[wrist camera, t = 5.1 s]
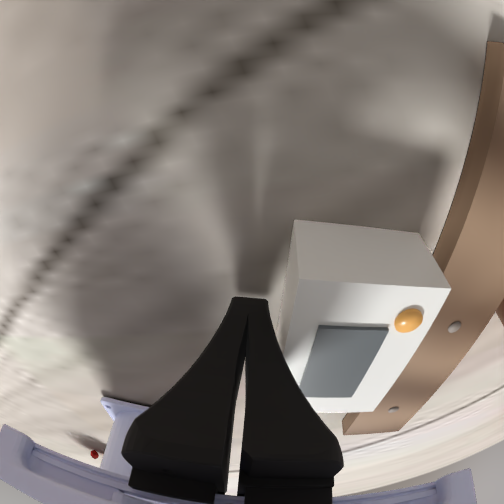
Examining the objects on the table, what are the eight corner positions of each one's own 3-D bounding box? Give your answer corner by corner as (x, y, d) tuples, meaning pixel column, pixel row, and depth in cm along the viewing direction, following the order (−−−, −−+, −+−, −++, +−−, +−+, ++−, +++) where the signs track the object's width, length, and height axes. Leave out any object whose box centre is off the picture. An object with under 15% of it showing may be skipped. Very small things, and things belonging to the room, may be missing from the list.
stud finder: (363, 356, 16) (373, 414, 13) (272, 352, 16) (270, 414, 13) (416, 230, 11) (453, 291, 8) (293, 216, 12) (299, 282, 9)
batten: (395, 417, 20) (398, 431, 19) (342, 421, 20) (343, 436, 19) (559, 85, 6) (578, 92, 5) (487, 41, 7) (508, 43, 6)
